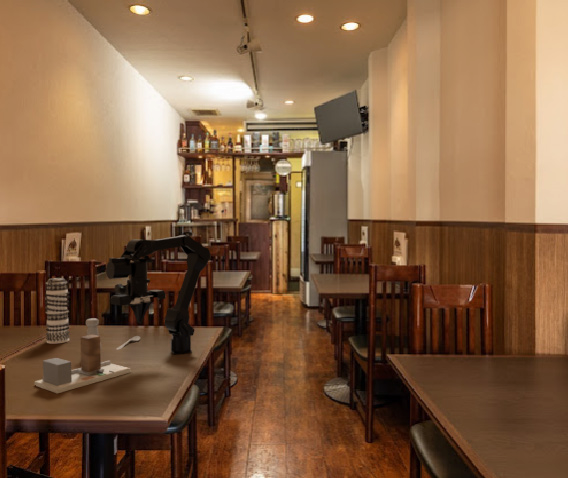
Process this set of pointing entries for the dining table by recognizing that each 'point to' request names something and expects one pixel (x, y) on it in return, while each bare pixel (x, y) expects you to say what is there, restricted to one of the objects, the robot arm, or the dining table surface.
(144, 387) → the dining table surface
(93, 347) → the gauge slider
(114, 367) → the gauge board
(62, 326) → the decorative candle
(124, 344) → the spoon
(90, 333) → the salt shaker
